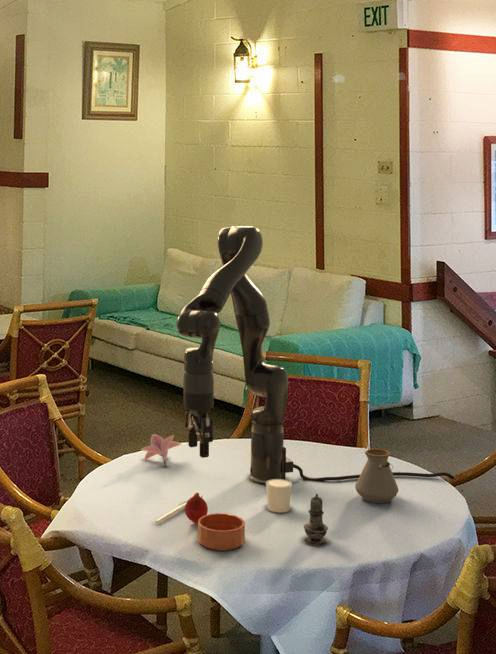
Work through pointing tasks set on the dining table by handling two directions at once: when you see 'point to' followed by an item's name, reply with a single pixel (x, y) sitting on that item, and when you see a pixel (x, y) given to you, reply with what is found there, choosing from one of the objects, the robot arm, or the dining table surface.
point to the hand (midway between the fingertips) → (198, 451)
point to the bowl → (221, 531)
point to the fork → (172, 512)
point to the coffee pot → (377, 478)
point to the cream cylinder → (278, 495)
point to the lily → (159, 446)
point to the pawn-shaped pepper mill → (315, 524)
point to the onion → (196, 508)
